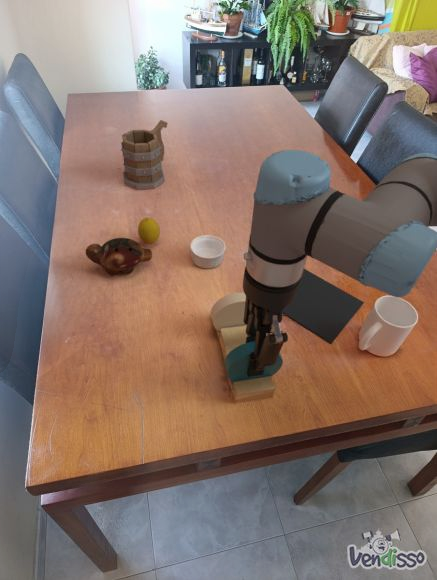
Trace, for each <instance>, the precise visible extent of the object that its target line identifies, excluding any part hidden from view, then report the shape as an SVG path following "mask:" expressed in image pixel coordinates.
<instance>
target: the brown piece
mask: <svg viewBox="0 0 437 580" xmlns="http://www.w3.org/2000/svg"><path fill="white" fill-rule="evenodd" d="M85 255H86V257H87V259H88V260H90V261H91V262H93V263H95V264H97V265H99V266H100V267H101V268H102V269H103V270H104V272H105V273H106V274H107V275H108V276H110V277H112V276H114V275H116V274H117V273H118V272H123V273H125V274H126V275H130V274H132V273H133V272H134V270H135V267H137V266H138V265H139V264H140V263H144V262H150V261H151V260H152V258H153V251H152V249H150V248H146V247H145V248H144V247H143V246H142V245H141V244H140V243H139V242H138V241H136V240H134V239H131V238H127V237H116V238H111V239H109V240H107V241H106V242H104V243H103V244H102V245H101V244H100V243H91V244H89V245H88V246H87V247H86V249H85Z"/></svg>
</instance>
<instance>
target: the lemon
mask: <svg viewBox="0 0 437 580" xmlns="http://www.w3.org/2000/svg"><path fill="white" fill-rule="evenodd" d="M137 234H138V237H139V239H140V240H141V241H142V242H143V243H144V244H149V245H150V244H151V245H152V244H154V243H156V242H158V241H159V238H160V235H161V230H160V226H159V223H158V222H157V220H156V219H154V218H152V217H144V218H142V219H141V220H140V222H139V223H138V227H137Z"/></svg>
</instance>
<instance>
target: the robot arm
mask: <svg viewBox="0 0 437 580" xmlns="http://www.w3.org/2000/svg"><path fill="white" fill-rule="evenodd" d="M331 175H332V170H331V167H330V165H329V163H328V162H327V161H326V160H323V159H322V158H321V157H320V156H319V155H318V154H315V153H313V152H309V151H305V150H301V149H285V150H284V149H283V150H279V151H276V152H273V153H272V154H271V155H269V156H267V157H265V159H263V161H262V163H261V164H260V167H259V173H258V177H257V182H256V186H255V191H254V192H253V208H252V215H251V216H252V217H251V225H250V232H249V240H248V248H247V252H244V253H243V260H245V267H244V272H243V278H242V290H243V292H244V293H245V295H246V301H245V311H244V320H243V321H244V324H245V325H246V324H247V327H246V334H247V335H248V336H247V337H246V343H247V342H251V341H255V347H254V352H251V354H249V358H250V361H249V366H248V371H247V375H248V377H252V376H258V375H263V373H264V369H265V367H266V366H273V365H274V364H275V362H276V360H277V357H278V355H279V353H280V354H281V351H282V348H283V345H284V344H285V343H287V342H288V340H289V336H288V333H287V332H284V330H281V326H280V323H282V321H283V315H284V314H283V309H284V308H285V307H286V306H287V305H289V304H290V303H291V302H292V301H293V300H294V298H295V296H296V293H297V290H298V286H299V283H300V278H301V277H302V273H303V270H304V269H305V266H306V262H307V259H308V257H310V258H311V259H314V260H316V261H318V262H320V263H322V264H324V265H326V266H328V267H330V268H332V269H334V270H336V271H337V272H339V273H342V274H343V275H345V276H347V277H349V278H351V279H353V280H354V281H357V282H358V283H360V284H361V285H362V286H364V287H369V288H372V289H375V290H376V291H379V292H381V293H384V294H386V295H388V296H393V297H399V298H405V297H406V296H408V295H409V294H410V293H411V292H412V291H413V289H414V287H415V285H416V284H417V283H418V281H419V280H420V279H419V278H420V277H421V275H422V274H423V272H424V270H425V269H426V268H427V266H428V264H429V263H430V261H431V259H432V257H433V256H434V254H435V253H436V250H437V230H435V229H433V228H431V227H437V154H435V153H431V152H421V153H415V154H412V155H410V156H408V157H405V159H403V160H402V161H400V162H399V163H397V164H395V165H394V166H393V167H391V168H390V170H389V171H388V172H387V173H386V175H385V176H384V177H383V178H382V180H380V181H379V182H378V183H377V185H375V186H374V188H372V190H371V191H370V192H369V193H368V194H367V195H366V196H365V197H364V198H363V199H359V198H357V197H354V196H353V195H352V196H351V195H349V194H347V193H343V192H342V191H340V190H337V189H335V188H332V187H331V182H332V181H331Z"/></svg>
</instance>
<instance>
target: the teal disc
mask: <svg viewBox="0 0 437 580" xmlns="http://www.w3.org/2000/svg"><path fill="white" fill-rule="evenodd" d="M254 347H255V341H251V342H247V343H244V344H242V345H240V346H238V347H236V348H234V349H233V350H232V351H231V352H229V354H228V355H227V356H226V358H225V360H224V362H223V363H224V368H225V372H226V376H227V379H228V378H229V379H230V380H231V381H233V382H235V381H241V380H248V379H254V378H261V377H268V376H271V377H273V376H274V375H276V374H277V373H278V372H279V371H280V370H281V368H282V367H283V363H284V360H283V357H282V354H281V352H280V353H279V355H278V357H277V360H276V362H275V364H274V365H273V366H266V367H265V369H264V373H263V375H258V376H252V377H248V375H247V371H248V366H249V361H250V358H249V354H251V352H254Z"/></svg>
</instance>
